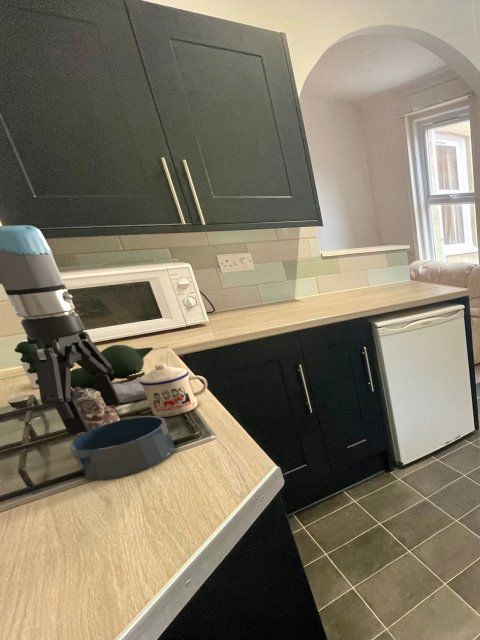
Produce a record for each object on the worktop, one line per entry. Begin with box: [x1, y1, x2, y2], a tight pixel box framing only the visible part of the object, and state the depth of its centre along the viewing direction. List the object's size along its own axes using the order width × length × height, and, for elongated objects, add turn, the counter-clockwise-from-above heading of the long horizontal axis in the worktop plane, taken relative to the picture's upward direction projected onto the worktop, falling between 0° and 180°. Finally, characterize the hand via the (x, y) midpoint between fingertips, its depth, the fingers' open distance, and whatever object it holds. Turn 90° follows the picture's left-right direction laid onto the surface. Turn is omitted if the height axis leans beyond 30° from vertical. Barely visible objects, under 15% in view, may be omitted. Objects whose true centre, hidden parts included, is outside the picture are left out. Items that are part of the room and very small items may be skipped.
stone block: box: [112, 373, 147, 404], centre depth 110 cm, size 12×5×10 cm
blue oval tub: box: [69, 415, 176, 481], centre depth 79 cm, size 13×14×6 cm
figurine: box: [73, 387, 121, 437], centre depth 85 cm, size 7×7×12 cm
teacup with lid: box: [140, 362, 208, 418], centre depth 100 cm, size 12×9×12 cm
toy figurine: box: [14, 335, 154, 390], centre depth 113 cm, size 9×19×25 cm
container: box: [18, 338, 73, 389], centre depth 119 cm, size 8×8×13 cm
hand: (96, 417), depth 85 cm, fingers open, 13 cm apart
